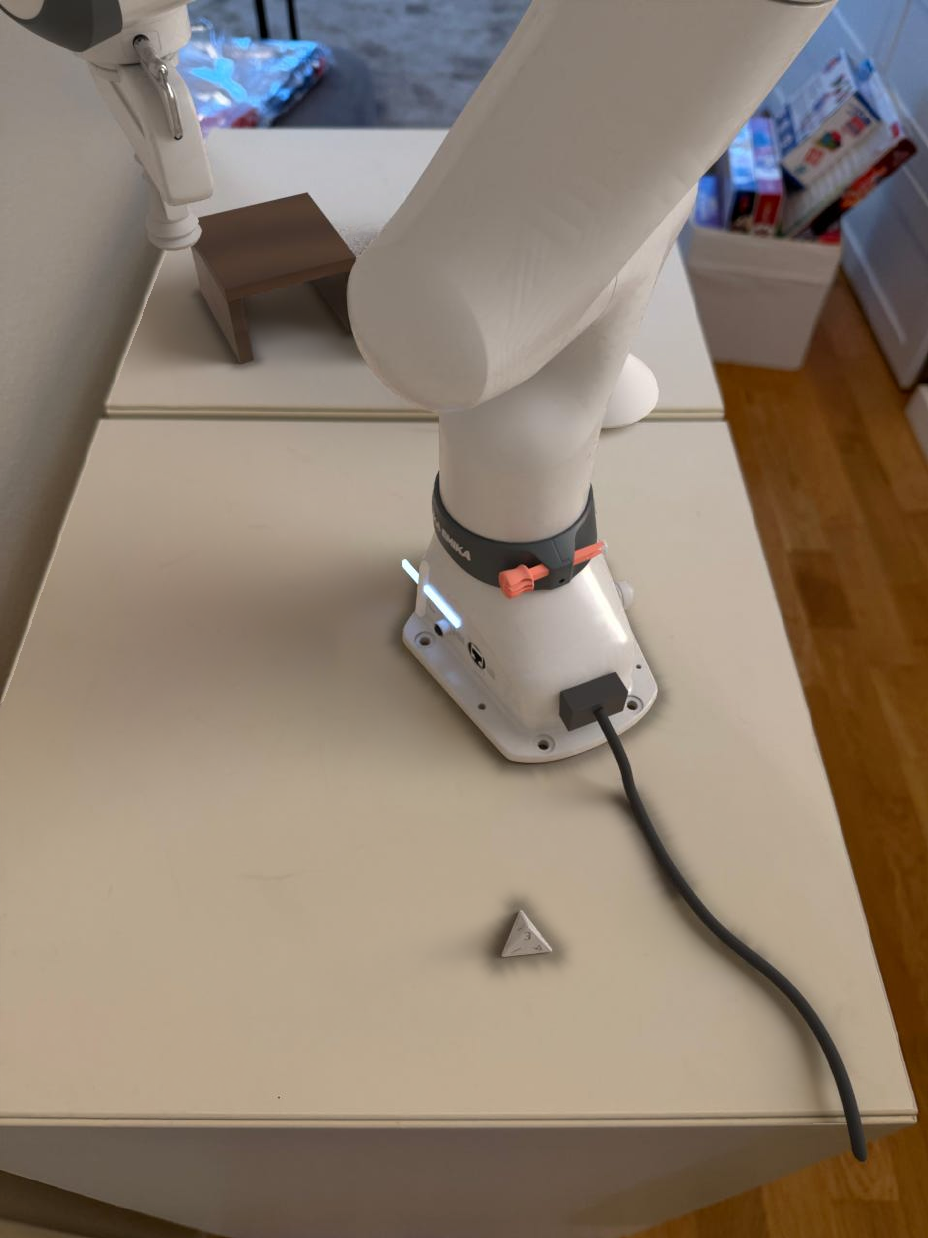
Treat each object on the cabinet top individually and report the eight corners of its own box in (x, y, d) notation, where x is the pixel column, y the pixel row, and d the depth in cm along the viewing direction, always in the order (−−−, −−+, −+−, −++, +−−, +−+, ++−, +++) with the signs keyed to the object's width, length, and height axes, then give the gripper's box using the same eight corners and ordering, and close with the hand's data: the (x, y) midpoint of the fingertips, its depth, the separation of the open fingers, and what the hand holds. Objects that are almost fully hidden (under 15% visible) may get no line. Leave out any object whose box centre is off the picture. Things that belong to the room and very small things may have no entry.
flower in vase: (661, 440, 92) (721, 198, 72) (547, 437, 92) (575, 195, 72) (648, 358, 100) (698, 120, 80) (543, 355, 100) (567, 116, 80)
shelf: (362, 329, 102) (355, 255, 95) (240, 364, 98) (224, 289, 91) (316, 264, 110) (307, 191, 103) (202, 294, 106) (184, 220, 99)
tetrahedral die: (536, 977, 62) (554, 971, 59) (500, 956, 61) (517, 949, 59) (554, 929, 64) (572, 922, 61) (519, 909, 63) (536, 901, 61)
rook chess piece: (202, 221, 79) (181, 126, 73) (203, 250, 77) (182, 154, 70) (149, 225, 79) (123, 129, 72) (148, 255, 76) (121, 158, 70)
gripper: (213, 63, 59) (249, 258, 71) (128, -46, 70) (170, 138, 81) (116, 81, 58) (168, 279, 69) (43, -33, 68) (98, 153, 79)
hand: (168, 202), depth 75 cm, fingers closed on rook chess piece, 3 cm apart
